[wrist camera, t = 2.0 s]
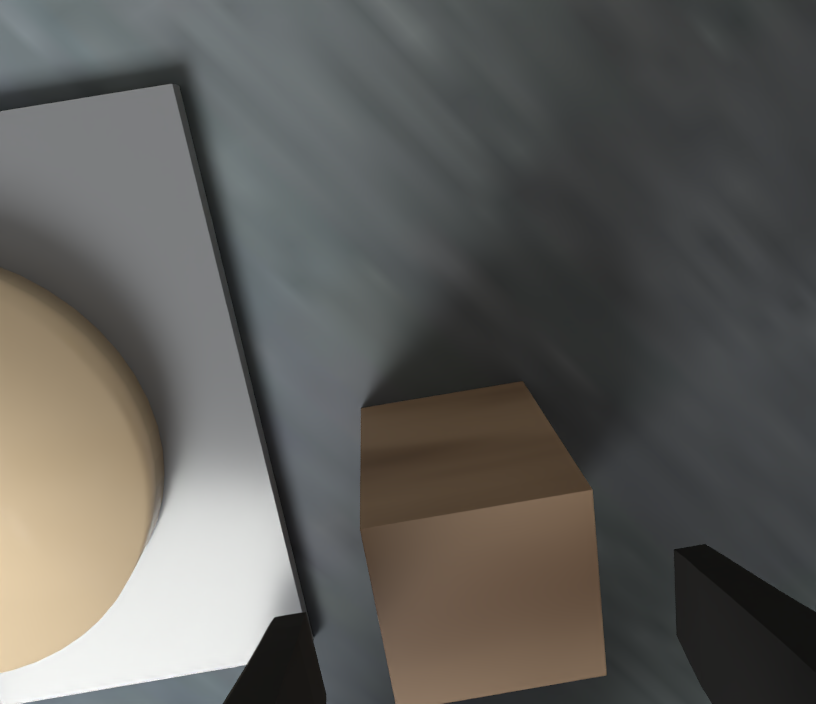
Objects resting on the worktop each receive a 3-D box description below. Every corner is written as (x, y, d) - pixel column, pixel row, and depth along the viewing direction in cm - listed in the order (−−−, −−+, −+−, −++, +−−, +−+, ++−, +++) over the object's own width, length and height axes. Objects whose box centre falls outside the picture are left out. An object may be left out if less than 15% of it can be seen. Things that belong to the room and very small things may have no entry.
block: (537, 521, 20) (606, 675, 14) (387, 546, 20) (397, 711, 14) (522, 380, 19) (592, 490, 13) (361, 407, 19) (360, 529, 13)
